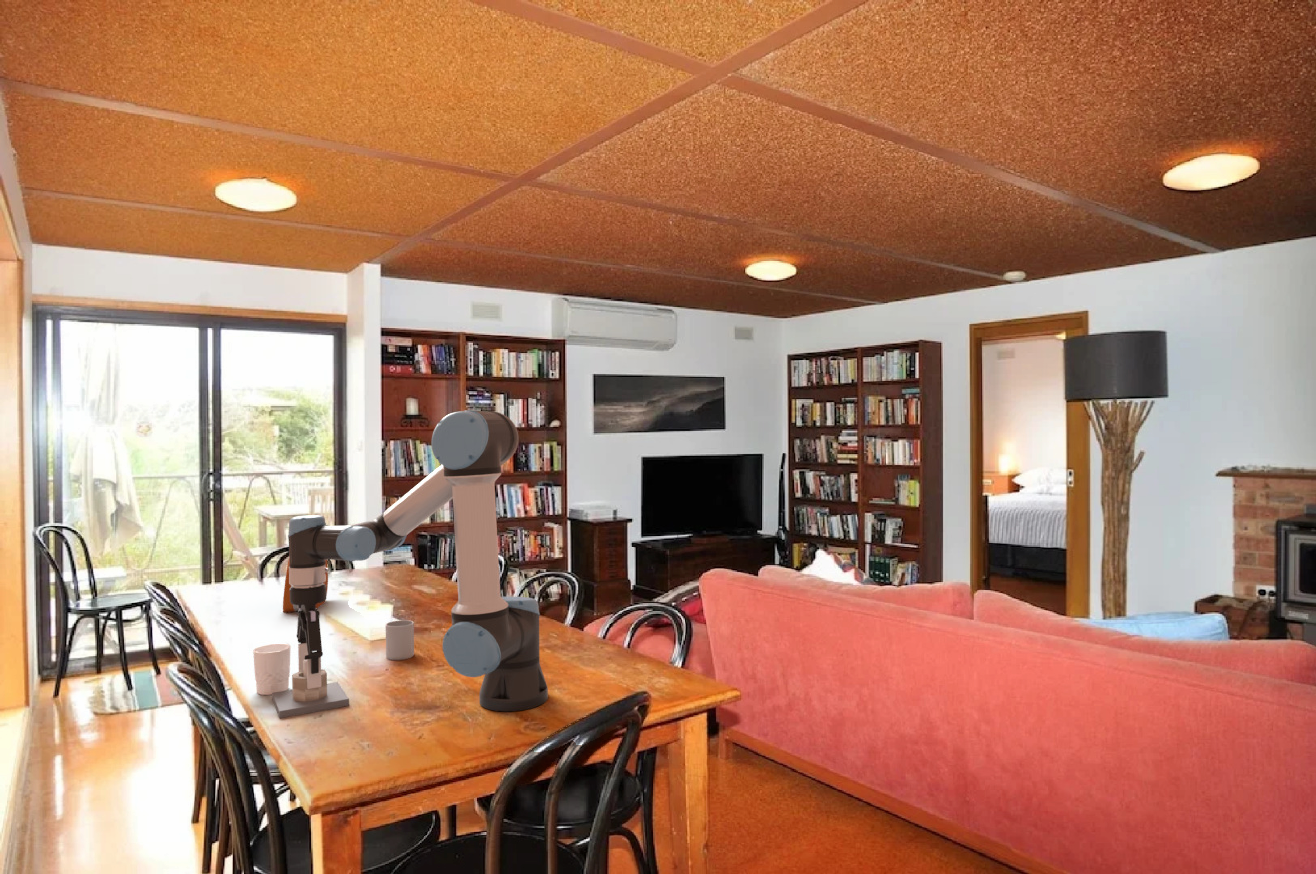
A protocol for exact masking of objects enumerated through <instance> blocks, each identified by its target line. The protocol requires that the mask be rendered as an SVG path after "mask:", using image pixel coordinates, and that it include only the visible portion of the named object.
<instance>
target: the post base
mask: <svg viewBox="0 0 1316 874" xmlns="http://www.w3.org/2000/svg"><path fill="white" fill-rule="evenodd" d="M303 674H304V677H307V660H304V661H303ZM271 698H272V699H271V700H272V702H273V703H272V704H274V708H275V710H276V713H277V716H278V718H279V719H281V718H283V719H285V718H288V717H293V716H299V715H304V714H310V713H315V712H321V711H326V710H327V711H328V710H333V709H337V708H342V707H348V706H350V699H349V697H348V696H347V694H346V692H345V691H344V689H343V688H342V686H341V685H340V683H339V681H333V682H327V695H326V696H324V697H322V698H320V699H317V700H311V701H294V699H293V692H292V689H288V690H286V691H280V692H274V693H272V695H271Z"/></svg>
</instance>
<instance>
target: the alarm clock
mask: <svg viewBox="0 0 1316 874" xmlns="http://www.w3.org/2000/svg"><path fill="white" fill-rule="evenodd" d="M289 564H290V561H289V560H288V561H287V566H286V573H285V579H284V586H283V588H284V589H283V599H282V612H283V613H295V612H298V605H293V604H291V603H290V588H291V587H292V585H290V584H289ZM325 566H326V567H325V568H328V569H329V566H328V559H326V564H325ZM325 574H326V581H325V582H324V583H323V584H325V585H326V597H327V595H328V588H329V587H328V584H329V571H328V572H325ZM325 603H326V600H325V601H324V602H322V603H317V604H316V608H317V609H318V608H319V607H320V606H322V605H323V604H325Z"/></svg>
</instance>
